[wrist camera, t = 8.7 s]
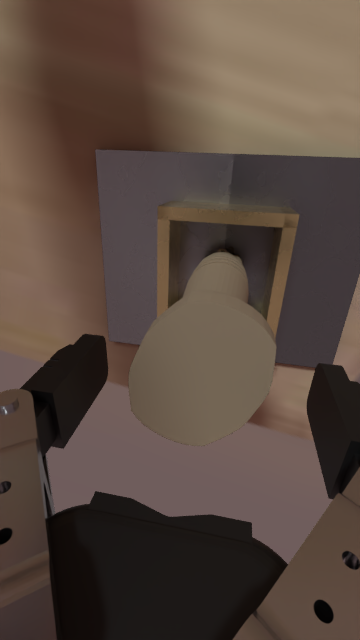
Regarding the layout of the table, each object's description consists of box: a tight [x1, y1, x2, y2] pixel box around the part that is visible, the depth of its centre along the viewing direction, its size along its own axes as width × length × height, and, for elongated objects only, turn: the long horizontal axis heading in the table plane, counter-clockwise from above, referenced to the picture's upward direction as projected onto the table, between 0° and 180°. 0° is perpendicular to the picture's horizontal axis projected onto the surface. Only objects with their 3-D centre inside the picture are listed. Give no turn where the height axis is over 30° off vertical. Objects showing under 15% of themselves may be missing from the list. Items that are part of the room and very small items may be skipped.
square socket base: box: [95, 149, 360, 368], centre depth 23 cm, size 16×20×5 cm
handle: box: [128, 249, 277, 446], centre depth 18 cm, size 5×6×15 cm
